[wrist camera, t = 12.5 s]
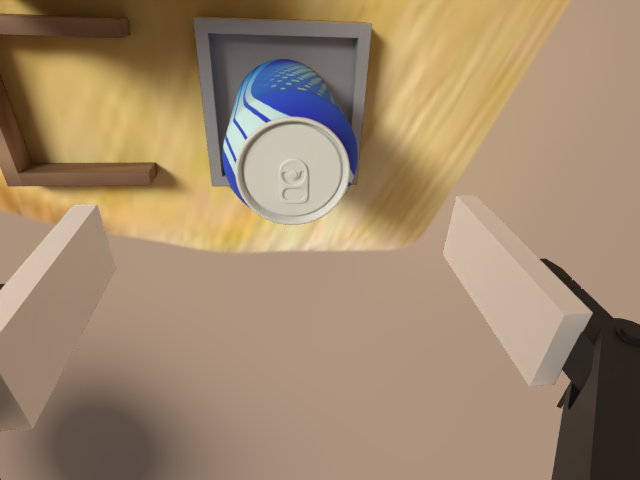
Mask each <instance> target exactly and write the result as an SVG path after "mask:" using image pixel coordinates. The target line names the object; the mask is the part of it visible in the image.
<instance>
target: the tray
mask: <svg viewBox="0 0 640 480" xmlns="http://www.w3.org/2000/svg"><path fill="white" fill-rule="evenodd" d="M193 22H194V31H195V40H196V48H197V57H198V66H199V75H200V84H201V93H202V102H203V110H204V119H205V128H206V137H207V146H208V155H209V164H210V172H211V181H212V187H213V186H230V184H229V182H228V180H227V177H226V174H225V171H224V166H223V144H224V139H225V135H226V132H227V128H228V125H229V121H230V118H231V114H232V111H233V107H234V104H235V100H236V96H237V93H238V90H239V87H240V85H241V83H242V82H243V80H244V79H245V77H246V76H247V75H248V74H249V73H250V72H251V71H252V70H253V69H254V68H256V67H257V66H259V65H261V64H262V63H265V62H267V61H271V60H276V59H289V60H294V61H298V62H300V63H303V64H305V65H307V66H308V67H310V68H311V69H312V70H314V71H315V72H316V73H317V74H318V75H319V76H320V78H321V79H322V80H323V82H324V83H325V85H326V87H327V88H328V90H329V91H330V93H331V95H332V96H333V98H334V99H335V101H336V103H337V104H338V106H339V107H340V109H341V111H342V112H343V114H344V115H345V117H346V119H347V120H348V122H349V124H350V125H351V127H352V130H353V132H354V135H355V138H356V143H357V149H358V161H357V168H356V172H355V175H354V178H353V180H352V183H351V185H357V179H358V168H359V157H360V146H361V136H362V125H363V114H364V104H365V93H366V82H367V72H368V61H369V50H370V40H371V29H372V24H369V23H366V22H338V21H311V20H283V19H256V18H229V17H201V16H197V17H195V18H193Z"/></svg>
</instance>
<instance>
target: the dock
mask: <svg viewBox="0 0 640 480" xmlns="http://www.w3.org/2000/svg"><path fill="white" fill-rule="evenodd" d="M0 34H9V35H43V36H77V37H110V38H122V37H126V36H129V35H131V33H130V28H129V23H128V18H111V17H83V16H55V15H26V14H0ZM0 168H1V170H2V173H3V175H4V177H5V180H6V182H7V185H8V186H83V185H151V184H152V182H153V180H154V179H155V177H156V175H157V172H156V166H155V163H32V162H31V159H30V157H29V154H28V151H27V148H26V146H25V143H24V140H23V137H22V134H21V132H20V129H19V126H18V123H17V120H16V118H15V115H14V112H13V109H12V106H11V104H10V101H9V98H8V95H7V92H6V90H5V87H4V84H3V81H2V79H1V76H0Z"/></svg>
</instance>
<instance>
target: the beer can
mask: <svg viewBox="0 0 640 480" xmlns="http://www.w3.org/2000/svg"><path fill="white" fill-rule="evenodd" d="M357 161H358V149H357V143H356V138H355V135H354V132H353V130H352V127H351V125H350V124H349V122H348V120H347V119H346V117H345V115H344V114H343V112H342V111H341V109H340V107H339V106H338V104H337V103H336V101H335V99H334V98H333V96H332V95H331V93H330V91H329V90H328V88H327V87H326V85H325V83H324V82H323V80H322V79H321V78H320V76H319V75H318V74H317V73H316V72H315V71H314V70H312V69H311V68H310V67H308V66H307V65H305V64H303V63H300V62H298V61H294V60H289V59H276V60H271V61H267V62H265V63H262V64H261V65H259V66H257V67H256V68H254V69H253V70H252V71H251V72H250V73H249V74H248V75H247V76H246V77H245V79H244V80H243V82H242V83H241V85H240V87H239V90H238V93H237V96H236V100H235V104H234V107H233V111H232V114H231V118H230V121H229V125H228V128H227V132H226V135H225V139H224V144H223V166H224V171H225V174H226V177H227V180H228V182H229V184H230V186H231V188H232V189H233V191H234V192H235V194H236V195H237V196H238V197H239V198H240V199H241V200H242V202H243V203H245V204H246V205H247V206H248V207H250V208H251V209H252V210H253V211H254V212H256V213H257V214H258V215H260V216H261V217H263V218H265V219H267V220H269V221H272V222H275V223H279V224H285V225H299V224H305V223H309V222H312V221H315V220H317V219H319V218H321V217H323V216H325V215H326V214H327V213H329V212H330V211H331V210H332V209H333V208H334V207H335V206H336V205H337V204H338V203H339V202H340V200H341V199H342V197H343V195H344V194H345V193H346V191H347V190H348V188H349V186H350V185H351V183H352V180H353V178H354V175H355V172H356V168H357Z"/></svg>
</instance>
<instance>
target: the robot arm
mask: <svg viewBox="0 0 640 480" xmlns="http://www.w3.org/2000/svg"><path fill="white" fill-rule="evenodd" d="M443 256H444V257H445V259H446V260H447V262H448V263H449V265H450V266H451V268H452V269H453V271H454V272H455V274H456V275H457V277H458V278H459V280H460V281H461V283H462V284H463V286H464V288H465V289H466V290H467V292H468V293H469V295H470V296H471V298H472V300H473V301H474V303H475V304H476V306H477V307H478V309H479V310H480V312H481V313H482V315H483V317H484V318H485V319H486V321H487V323H488V324H489V326H490V327H491V329H492V330H493V332H494V333H495V335H496V336H497V338H498V339H499V341H500V342H501V344H502V345H503V347H504V348H505V350H506V351H507V353H508V354H509V356H510V358H511V359H512V361H513V362H514V364H515V365H516V367H517V368H518V370H519V371H520V373H521V374H522V376H523V377H524V379H525V380H526V382H527V383H528V385H529V386H530V387H531V386H544V385H554V384H555V383H556V381H557V379H558V377H559V375H560V373H561V371H562V370H563V371H564V372H565V374H566V375H567V376H568V378H569V379H570V380H571V382H570V384H569V385H568V387H567V389H566V391H565V393H564V394H563V396H562V398H561V400H560V401H559V403H558V405H557V407H559V408H561V407H562V406H563V404H564V406H563V413H562V419H561V425H560V432H559V437H558V444H557V449H556V456H555V462H554V468H553V474H552V480H640V325H639V324H637V323H635V322H632V321H629V320H625V319H621V318H613V317H612V316H610V314H609V313H608V312H607V311H605V310H604V309H603V308H602V307H601V306H600V305H599V304H598V303H597V302H596V301H595V300H594V299H593V298H592V297H591V296H590V295H589V294H588V293H587V292H586V291H585V290H584V289H581V287H580V286H579V285H578V284H577V283H576V282H575V281H574V280H572V278H571V277H570V276H569V275H568V274H567V273H566V272H565V271H564V270H563V269H562V268H560V267H559V266H557V265H555V264H554V263H552V262H550V261H549V260H547V259H539V258H538V257H536V255H535V254H534V253H533V252H532V251H531V250H529V248H528V247H527V246H526V245H525V244H524V243H523V242H522V241H521V240H520V239H519V238H518V237H517V236H516V235H515V234H514V233H513V232H512V231H511V230H510V229H509V228H508V227H507V226H506V225H505V224H504V223H503V222H502V221H501V220H500V219H499V218H498V217H497V216H496V215H495V214H494V213H493V212H492V211H491V210H490V209H489V208H488V207H487V206H486V205H485V204H484V203H483V202H482V201H481V200H480V199H479V198H478V197H477V196H476V195H458V196H456V200H455V204H454V208H453V213H452V217H451V221H450V226H449V229H448V234H447V238H446V242H445V246H444V250H443ZM115 270H116V265H115V262H114V259H113V255H112V252H111V249H110V245H109V242H108V239H107V235H106V232H105V229H104V225H103V222H102V219H101V215H100V212H99V209H98V205H97V204H84V205H73V206H72V207H71V209H70V210H69V211H68V212H67V213H66V214H65V216H64V217H63V218H62V219H61V220H60V221H59V222H58V224H57V225H56V226H55V227H54V228H53V230H52V231H51V232H50V233H49V234H48V235H47V237H46V238H45V239H44V240H43V241H42V242H41V243H40V245H39V246H38V247H37V248H36V249H35V250H34V252H33V253H32V254H31V255H30V256H29V257H28V259H27V260H26V261H25V262H24V263H23V264H22V266H21V267H20V268H19V269H18V270H17V272H16V273H15V274H14V275H13V276H12V277H11V278H10V280H9V281H8V282H7V283H6V284H0V431H8V430H20V429H31V428H33V427H34V426H35V424H36V422H37V420H38V418H39V416H40V414H41V412H42V410H43V408H44V406H45V404H46V402H47V400H48V399H49V397H50V394H51V393H52V391H53V389H54V387H55V385H56V383H57V381H58V379H59V377H60V375H61V373H62V372H63V370H64V368H65V366H66V364H67V362H68V360H69V358H70V356H71V354H72V352H73V350H74V349H75V347H76V345H77V343H78V341H79V339H80V337H81V335H82V333H83V331H84V329H85V327H86V325H87V323H88V322H89V319H90V318H91V316H92V314H93V312H94V310H95V308H96V306H97V304H98V302H99V300H100V298H101V297H102V295H103V293H104V291H105V289H106V287H107V285H108V283H109V281H110V279H111V277H112V275H113V273H114V272H115ZM0 480H1V479H0Z"/></svg>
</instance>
